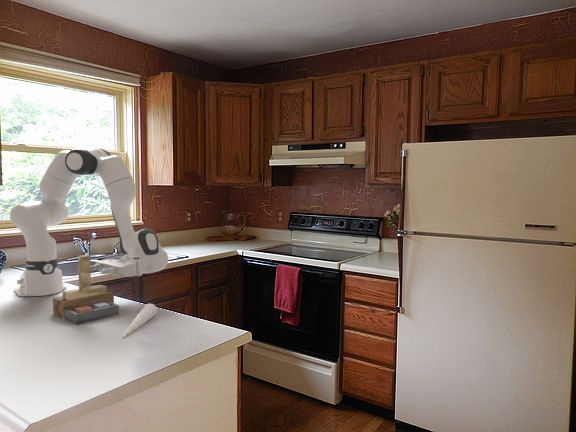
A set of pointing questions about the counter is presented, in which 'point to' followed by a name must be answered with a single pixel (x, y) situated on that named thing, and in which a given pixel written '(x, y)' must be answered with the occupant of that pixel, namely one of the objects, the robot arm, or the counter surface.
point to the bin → (91, 313)
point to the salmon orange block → (82, 309)
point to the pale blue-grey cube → (101, 305)
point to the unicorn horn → (141, 318)
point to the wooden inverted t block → (84, 282)
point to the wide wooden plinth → (78, 302)
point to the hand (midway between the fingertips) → (95, 270)
